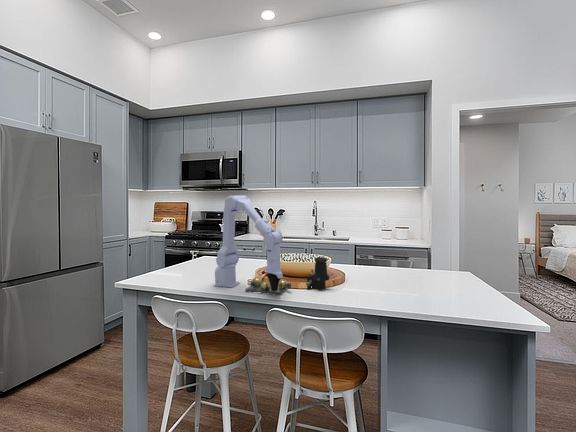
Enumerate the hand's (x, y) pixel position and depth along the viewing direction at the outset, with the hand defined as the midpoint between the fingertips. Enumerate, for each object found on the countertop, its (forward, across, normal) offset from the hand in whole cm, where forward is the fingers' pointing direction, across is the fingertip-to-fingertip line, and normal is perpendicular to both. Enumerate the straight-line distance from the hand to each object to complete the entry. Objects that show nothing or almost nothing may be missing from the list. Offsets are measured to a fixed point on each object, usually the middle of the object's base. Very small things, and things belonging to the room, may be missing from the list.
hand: (274, 290), depth 141 cm
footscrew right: (0, -5, -1) cm, 5 cm away
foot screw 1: (0, -13, -4) cm, 14 cm away
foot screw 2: (+1, -3, +7) cm, 7 cm away
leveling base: (+2, -8, 0) cm, 8 cm away
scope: (+2, +1, +21) cm, 22 cm away
